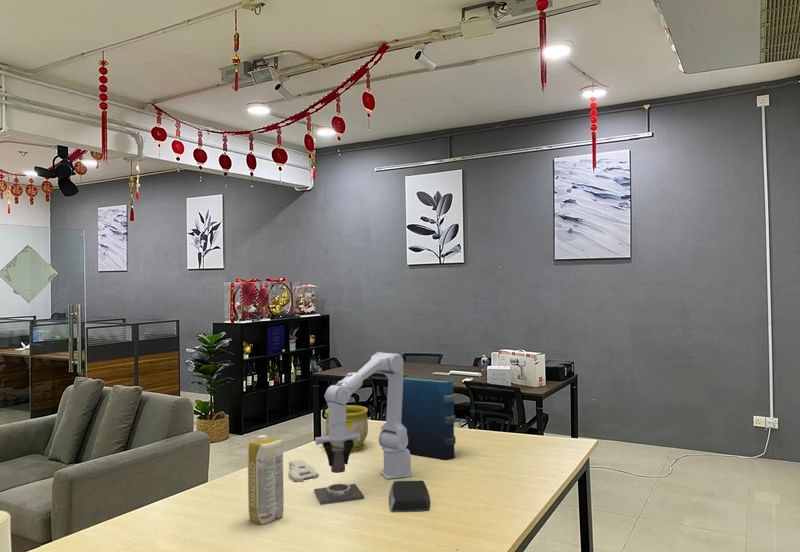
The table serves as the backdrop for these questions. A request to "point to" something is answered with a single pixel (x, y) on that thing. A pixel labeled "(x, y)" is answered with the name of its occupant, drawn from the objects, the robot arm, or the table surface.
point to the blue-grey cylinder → (338, 461)
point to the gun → (301, 471)
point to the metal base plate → (338, 493)
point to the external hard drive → (409, 497)
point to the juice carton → (265, 479)
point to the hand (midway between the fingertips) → (338, 464)
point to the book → (429, 417)
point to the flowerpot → (352, 426)
